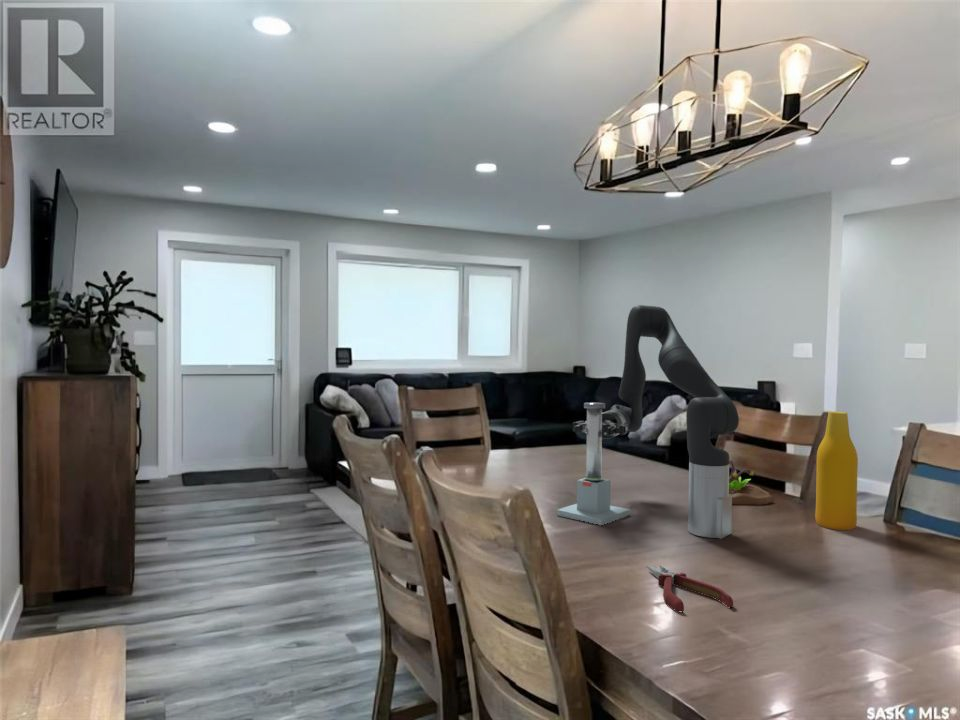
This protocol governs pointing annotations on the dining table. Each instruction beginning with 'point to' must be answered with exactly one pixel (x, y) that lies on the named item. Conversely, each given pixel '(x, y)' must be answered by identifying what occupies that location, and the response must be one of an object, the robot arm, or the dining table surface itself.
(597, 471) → the column
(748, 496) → the plant
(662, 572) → the pliers
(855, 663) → the dining table surface
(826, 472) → the beer bottle
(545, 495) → the dining table surface
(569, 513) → the stand base
